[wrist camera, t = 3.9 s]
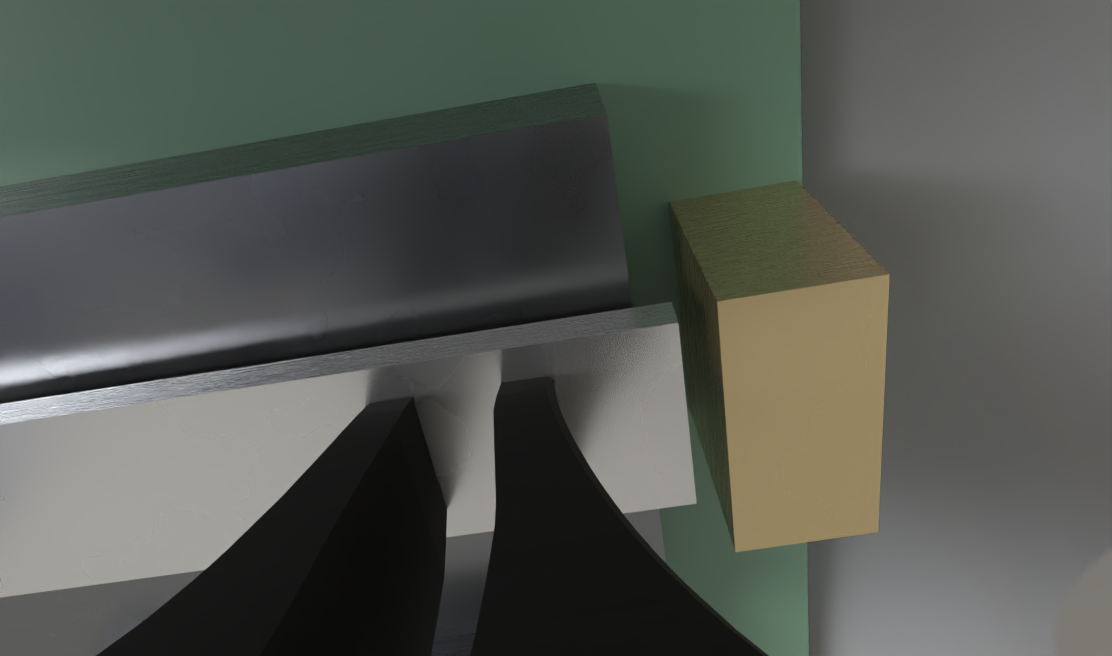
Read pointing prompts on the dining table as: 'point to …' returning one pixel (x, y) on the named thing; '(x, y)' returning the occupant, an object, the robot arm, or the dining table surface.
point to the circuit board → (433, 84)
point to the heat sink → (445, 306)
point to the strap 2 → (321, 441)
